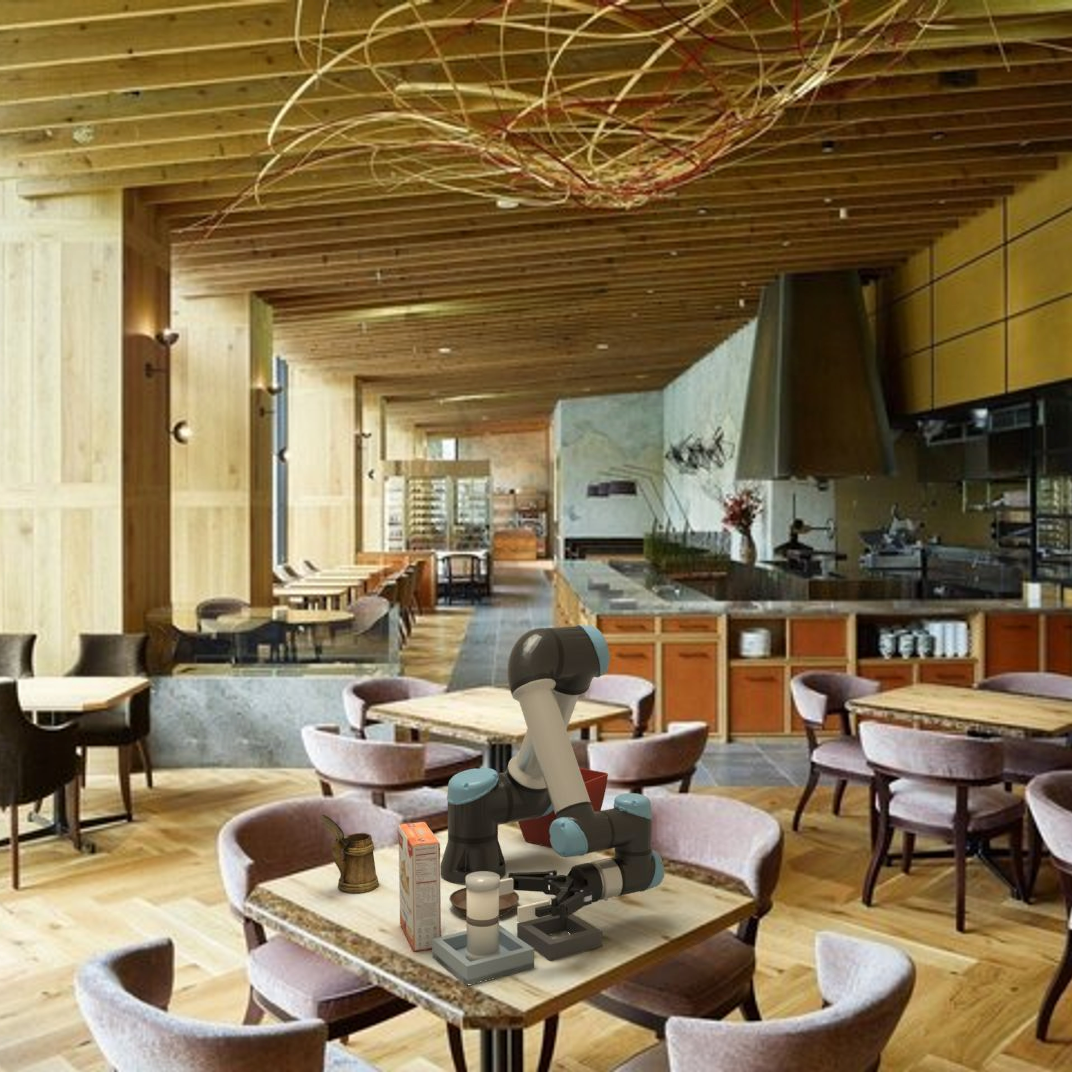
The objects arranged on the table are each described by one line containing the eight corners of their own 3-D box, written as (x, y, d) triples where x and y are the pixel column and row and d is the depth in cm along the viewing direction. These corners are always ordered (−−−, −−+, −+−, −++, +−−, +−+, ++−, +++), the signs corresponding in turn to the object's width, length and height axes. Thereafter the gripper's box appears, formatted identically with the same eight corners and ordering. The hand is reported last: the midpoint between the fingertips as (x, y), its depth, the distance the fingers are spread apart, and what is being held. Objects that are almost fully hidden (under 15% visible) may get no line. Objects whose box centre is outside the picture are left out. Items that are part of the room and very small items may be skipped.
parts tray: (432, 957, 196) (432, 938, 196) (496, 940, 203) (496, 923, 203) (467, 986, 184) (466, 966, 184) (534, 967, 191) (534, 948, 191)
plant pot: (566, 857, 252) (566, 788, 251) (505, 842, 263) (505, 776, 263) (610, 837, 267) (609, 772, 267) (550, 824, 279) (550, 762, 278)
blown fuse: (459, 954, 194) (459, 875, 194) (489, 947, 198) (489, 869, 197) (475, 967, 189) (475, 885, 189) (506, 959, 192) (506, 879, 192)
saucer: (513, 894, 228) (513, 882, 228) (524, 920, 214) (524, 907, 214) (446, 899, 226) (446, 886, 226) (452, 925, 211) (452, 912, 211)
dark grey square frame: (517, 938, 204) (517, 923, 204) (567, 925, 210) (568, 910, 210) (549, 960, 194) (549, 944, 194) (602, 946, 200) (602, 931, 200)
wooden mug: (312, 891, 230) (312, 810, 230) (364, 876, 239) (364, 798, 239) (333, 902, 224) (333, 819, 223) (386, 886, 233) (385, 807, 232)
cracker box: (397, 925, 211) (397, 823, 210) (426, 921, 213) (426, 820, 212) (411, 953, 198) (410, 844, 197) (442, 948, 199) (441, 840, 199)
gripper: (631, 921, 195) (534, 946, 184) (560, 881, 216) (469, 901, 206) (631, 882, 195) (534, 904, 184) (560, 845, 216) (469, 863, 205)
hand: (500, 902), depth 195 cm, fingers open, 13 cm apart
